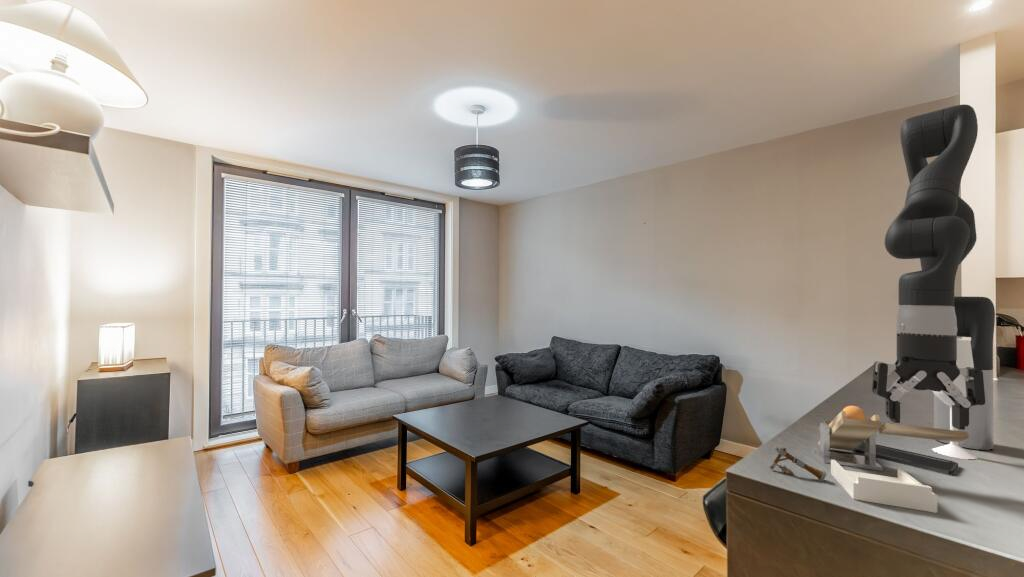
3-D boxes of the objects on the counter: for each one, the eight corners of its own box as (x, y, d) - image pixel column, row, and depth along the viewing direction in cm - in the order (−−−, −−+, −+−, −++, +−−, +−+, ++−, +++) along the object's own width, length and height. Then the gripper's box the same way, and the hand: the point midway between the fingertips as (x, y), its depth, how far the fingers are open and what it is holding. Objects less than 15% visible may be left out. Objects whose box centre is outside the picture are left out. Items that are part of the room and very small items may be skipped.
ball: (839, 421, 81) (839, 403, 81) (861, 424, 80) (861, 405, 80) (845, 425, 78) (845, 406, 78) (869, 428, 77) (868, 408, 77)
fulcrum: (814, 452, 86) (815, 420, 87) (869, 459, 83) (869, 426, 83) (823, 462, 81) (824, 427, 81) (882, 470, 77) (882, 434, 78)
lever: (818, 446, 90) (816, 427, 92) (924, 460, 83) (918, 439, 85) (843, 422, 76) (839, 401, 78) (970, 436, 70) (963, 413, 72)
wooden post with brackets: (765, 462, 78) (776, 442, 77) (813, 491, 74) (826, 470, 73) (764, 465, 76) (776, 445, 75) (814, 495, 72) (827, 473, 71)
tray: (830, 473, 76) (830, 453, 76) (901, 484, 72) (901, 463, 72) (853, 499, 66) (853, 476, 66) (937, 513, 62) (937, 488, 62)
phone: (860, 440, 93) (959, 462, 81) (860, 445, 93) (959, 468, 81) (849, 447, 88) (953, 472, 76) (849, 453, 88) (953, 478, 76)
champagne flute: (929, 445, 93) (929, 336, 94) (974, 453, 88) (973, 339, 89) (933, 453, 88) (933, 338, 88) (981, 462, 83) (980, 341, 84)
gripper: (966, 332, 74) (966, 425, 74) (866, 328, 80) (866, 414, 79) (995, 335, 67) (996, 437, 67) (883, 330, 73) (883, 425, 72)
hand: (925, 425), depth 73 cm, fingers open, 8 cm apart
